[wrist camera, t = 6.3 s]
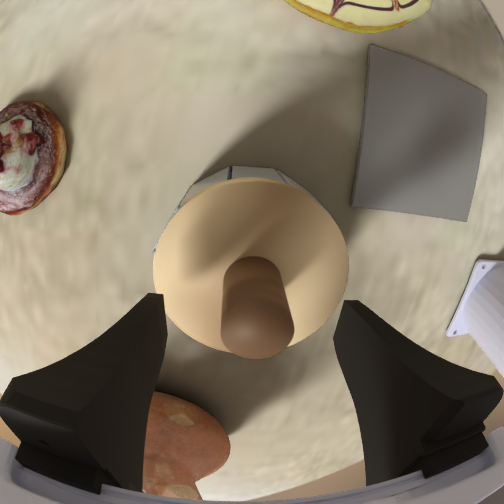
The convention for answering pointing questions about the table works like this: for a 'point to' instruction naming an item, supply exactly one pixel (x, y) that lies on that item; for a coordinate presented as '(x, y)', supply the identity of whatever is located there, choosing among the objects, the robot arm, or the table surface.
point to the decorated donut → (363, 13)
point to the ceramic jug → (181, 447)
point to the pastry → (29, 156)
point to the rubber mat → (418, 139)
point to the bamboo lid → (251, 266)
